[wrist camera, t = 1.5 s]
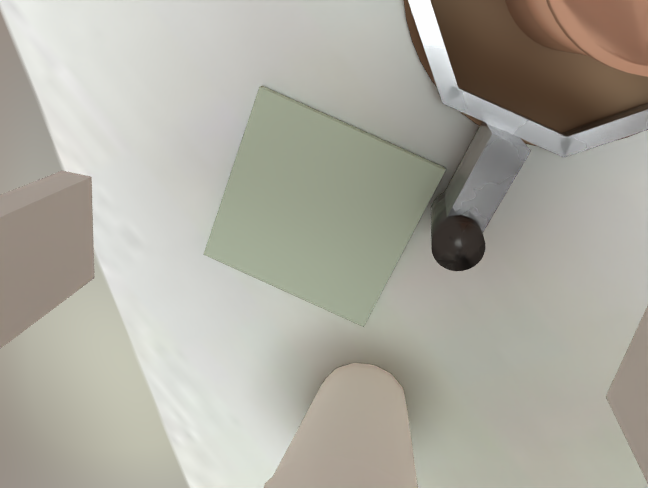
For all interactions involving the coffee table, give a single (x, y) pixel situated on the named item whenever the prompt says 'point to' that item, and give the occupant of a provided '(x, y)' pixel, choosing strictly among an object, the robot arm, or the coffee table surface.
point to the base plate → (525, 68)
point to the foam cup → (352, 435)
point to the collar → (494, 153)
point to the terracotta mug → (589, 29)
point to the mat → (319, 206)
